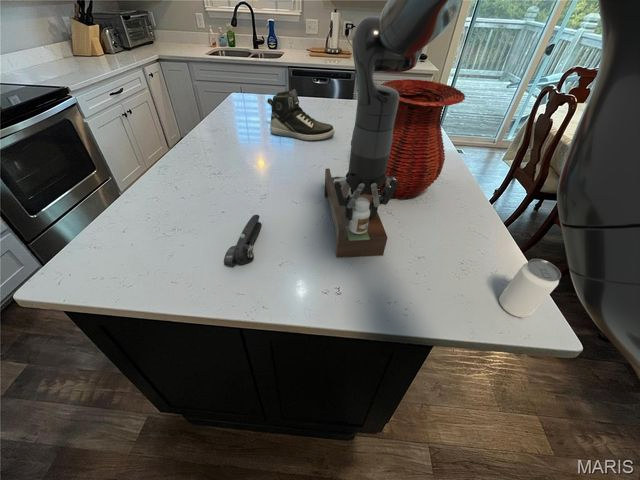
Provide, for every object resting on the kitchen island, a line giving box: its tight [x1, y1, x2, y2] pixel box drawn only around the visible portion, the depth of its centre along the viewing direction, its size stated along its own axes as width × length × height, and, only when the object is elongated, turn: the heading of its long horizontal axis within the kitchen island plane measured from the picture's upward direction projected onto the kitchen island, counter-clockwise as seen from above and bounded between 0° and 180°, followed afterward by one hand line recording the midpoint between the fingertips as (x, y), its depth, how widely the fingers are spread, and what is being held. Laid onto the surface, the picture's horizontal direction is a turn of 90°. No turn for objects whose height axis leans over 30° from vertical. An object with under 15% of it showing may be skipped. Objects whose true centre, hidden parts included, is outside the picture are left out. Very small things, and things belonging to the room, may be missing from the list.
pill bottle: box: [349, 198, 370, 234], centre depth 67 cm, size 4×4×8 cm
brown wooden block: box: [323, 168, 388, 259], centre depth 81 cm, size 28×12×9 cm, turn 6°
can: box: [498, 258, 562, 318], centre depth 60 cm, size 6×6×12 cm
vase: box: [378, 78, 466, 199], centre depth 88 cm, size 23×24×30 cm
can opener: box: [223, 214, 263, 267], centre depth 74 cm, size 18×7×6 cm, turn 170°
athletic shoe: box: [266, 89, 335, 142], centre depth 120 cm, size 10×28×18 cm, turn 78°
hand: (359, 217), depth 68 cm, fingers closed on pill bottle, 4 cm apart
